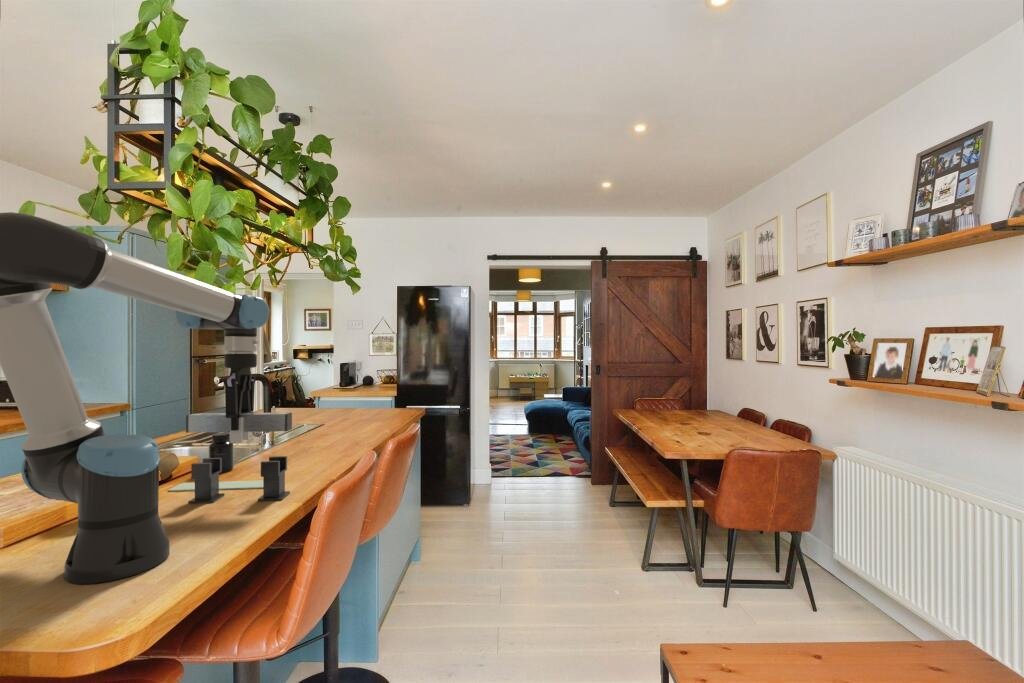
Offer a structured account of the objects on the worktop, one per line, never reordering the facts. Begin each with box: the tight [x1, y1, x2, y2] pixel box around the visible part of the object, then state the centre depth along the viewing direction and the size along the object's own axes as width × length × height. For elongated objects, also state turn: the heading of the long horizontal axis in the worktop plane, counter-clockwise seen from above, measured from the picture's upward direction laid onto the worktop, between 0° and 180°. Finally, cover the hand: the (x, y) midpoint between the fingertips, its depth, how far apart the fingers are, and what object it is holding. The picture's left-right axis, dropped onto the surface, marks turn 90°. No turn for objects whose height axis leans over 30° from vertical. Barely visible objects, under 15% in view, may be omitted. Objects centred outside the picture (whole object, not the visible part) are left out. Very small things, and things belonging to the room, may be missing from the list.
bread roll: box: [159, 451, 180, 481], centre depth 146 cm, size 10×15×8 cm, turn 19°
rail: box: [185, 411, 293, 434], centre depth 128 cm, size 4×25×4 cm, turn 96°
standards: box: [188, 455, 291, 504], centre depth 128 cm, size 6×23×10 cm, turn 96°
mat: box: [167, 479, 263, 493], centre depth 139 cm, size 7×28×1 cm, turn 96°
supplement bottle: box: [208, 432, 234, 474], centre depth 155 cm, size 7×7×12 cm
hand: (239, 440), depth 127 cm, fingers closed on rail, 3 cm apart
